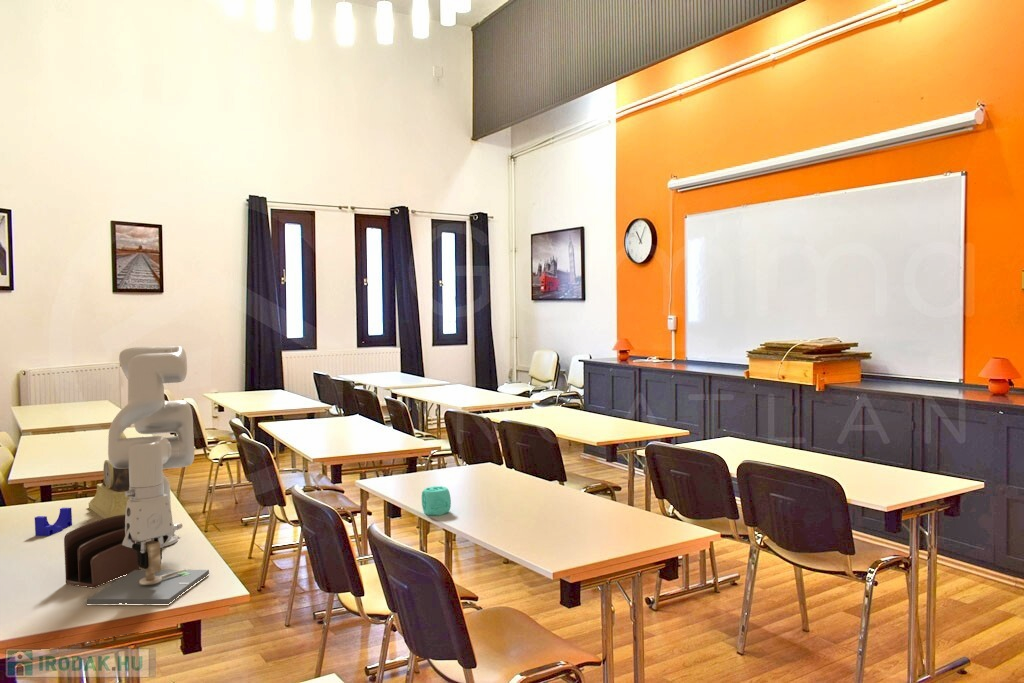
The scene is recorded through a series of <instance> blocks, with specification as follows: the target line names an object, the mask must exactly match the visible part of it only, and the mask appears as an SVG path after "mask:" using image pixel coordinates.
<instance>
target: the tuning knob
mask: <svg viewBox="0 0 1024 683" xmlns="http://www.w3.org/2000/svg"><path fill="white" fill-rule="evenodd" d="M146 552H147V553H148V565H149V567H148V568H147V569H144V568H140V567H139V569H141V570H144V571H146V577H145V578H142V579H141V580H139V584H140V585H153V584H156V583H159V582H161V581H162V579H163V578H166V577H169V576H172V575H176V574H179V573H182V572H185V571H186V570H187V569H186V568H181V569H177V570H178V571H175V572H171V573H168V574H165V575H161V576H155V572H158V571H161V570H162V559H161V555H160V542H157V541H154V540H151V539H150V540H147V541H146Z"/></svg>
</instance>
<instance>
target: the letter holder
mask: <svg viewBox="0 0 1024 683" xmlns="http://www.w3.org/2000/svg"><path fill="white" fill-rule="evenodd" d="M124 538H125V515H119V516H113V517H109V518H105V519H103V518H101V519H98V520H95V521H92V522H90V523H86V524H84V525H82V526H79V527H77V528H75V529H72V530H70V531H69V532H67V533H66V534H65V535H64V538H63V543H64V544H63V545H64V546H63V547H64V568H65V569H64V570H65V571H64V572H65V573H64V574H65V584H66V585H69V584H71V585H70V586H75V585H79V586H78V587H81V586H87V587H86V588H88V587H95V588H97V587H99V586H98V585H100V586H102V585H101V584H103V583H105V584H107V583H106V582H108V581H110V580H113V579H115V578H118V577H120V576H123V575H126V574H129V573H131V572H132V571H134V570H140V569H139V565H138V557H137V552H136V551H135V550H134V549H132V548H130V547H126V546H123V545H122V543H123V540H124ZM151 540H153V539H151ZM131 542H133V543H135V541H134V540H131ZM123 577H124V576H123ZM118 579H119V578H118ZM115 580H116V579H115ZM113 581H114V580H113ZM110 582H111V581H110ZM108 583H109V582H108ZM103 585H104V584H103ZM96 586H97V587H96Z"/></svg>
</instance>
